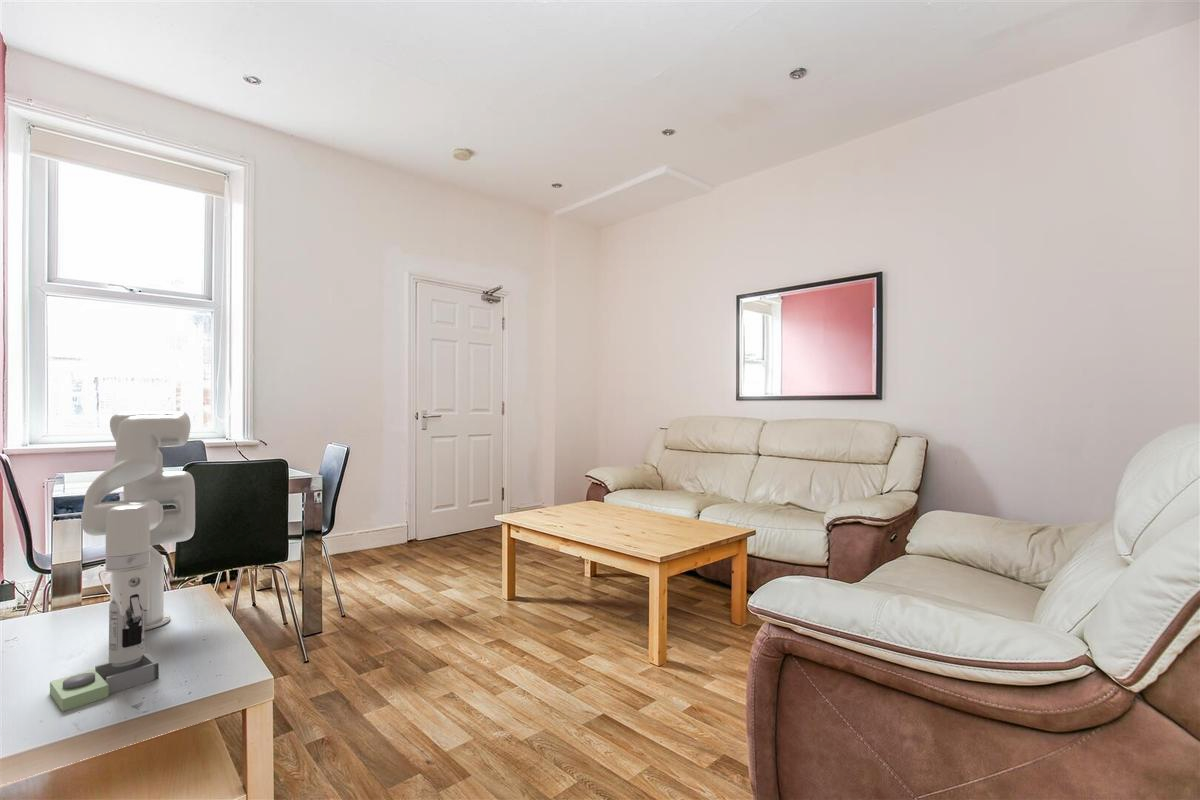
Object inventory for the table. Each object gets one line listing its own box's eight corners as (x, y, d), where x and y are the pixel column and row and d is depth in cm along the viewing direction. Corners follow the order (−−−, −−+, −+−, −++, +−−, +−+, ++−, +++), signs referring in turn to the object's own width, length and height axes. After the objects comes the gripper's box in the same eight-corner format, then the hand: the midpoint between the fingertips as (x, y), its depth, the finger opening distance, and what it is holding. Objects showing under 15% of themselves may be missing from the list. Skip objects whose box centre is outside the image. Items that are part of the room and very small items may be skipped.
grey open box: (49, 693, 116) (50, 676, 116) (143, 665, 129) (143, 650, 129) (62, 711, 109) (62, 694, 109) (160, 679, 122) (160, 664, 122)
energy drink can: (142, 663, 121) (142, 595, 121) (106, 670, 118) (106, 600, 118) (146, 653, 126) (146, 588, 126) (111, 660, 123) (112, 593, 123)
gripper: (161, 563, 120) (160, 645, 120) (137, 551, 131) (137, 627, 130) (117, 571, 114) (116, 658, 114) (95, 558, 124) (94, 638, 124)
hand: (127, 640), depth 122 cm, fingers closed on energy drink can, 6 cm apart
